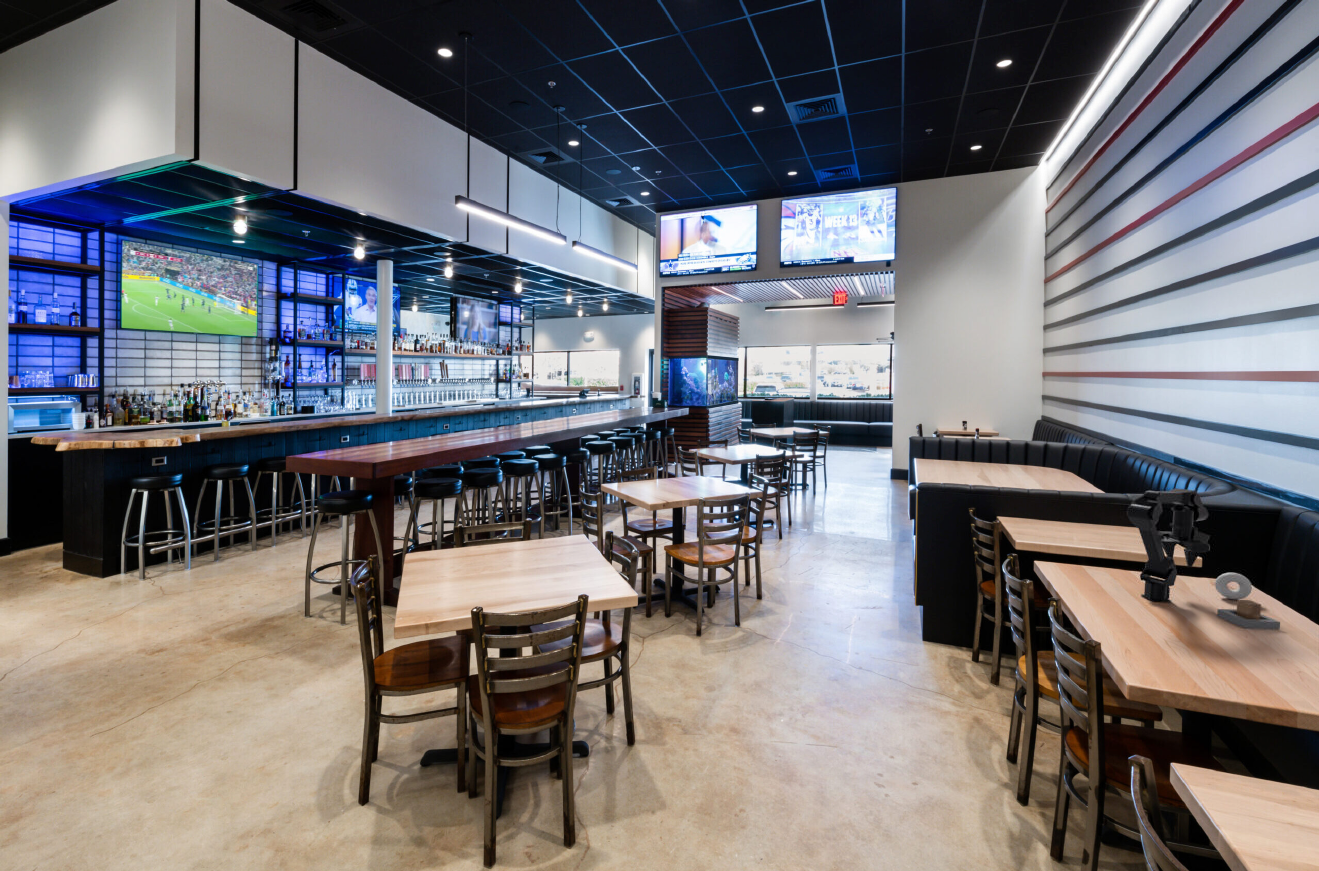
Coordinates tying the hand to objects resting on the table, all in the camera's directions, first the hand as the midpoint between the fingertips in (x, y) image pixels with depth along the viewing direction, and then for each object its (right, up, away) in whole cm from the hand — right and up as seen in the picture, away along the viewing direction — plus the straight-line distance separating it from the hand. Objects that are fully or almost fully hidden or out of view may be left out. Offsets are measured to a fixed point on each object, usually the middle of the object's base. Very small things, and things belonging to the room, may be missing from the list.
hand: (1179, 563), depth 226 cm
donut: (+16, -13, -4) cm, 21 cm away
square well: (0, -14, -26) cm, 30 cm away
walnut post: (0, -14, -26) cm, 30 cm away
